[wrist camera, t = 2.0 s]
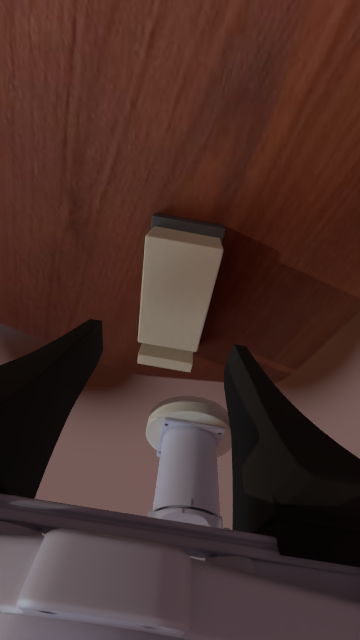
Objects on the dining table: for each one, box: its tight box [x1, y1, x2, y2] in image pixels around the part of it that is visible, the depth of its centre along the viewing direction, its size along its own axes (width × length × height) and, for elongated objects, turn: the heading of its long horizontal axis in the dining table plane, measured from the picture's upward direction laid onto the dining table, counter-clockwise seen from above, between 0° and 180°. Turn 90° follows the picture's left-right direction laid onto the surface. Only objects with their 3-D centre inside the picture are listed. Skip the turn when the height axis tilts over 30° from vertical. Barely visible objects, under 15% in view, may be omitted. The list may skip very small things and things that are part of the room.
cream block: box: [138, 213, 226, 372], centre depth 17 cm, size 11×5×4 cm, turn 171°
